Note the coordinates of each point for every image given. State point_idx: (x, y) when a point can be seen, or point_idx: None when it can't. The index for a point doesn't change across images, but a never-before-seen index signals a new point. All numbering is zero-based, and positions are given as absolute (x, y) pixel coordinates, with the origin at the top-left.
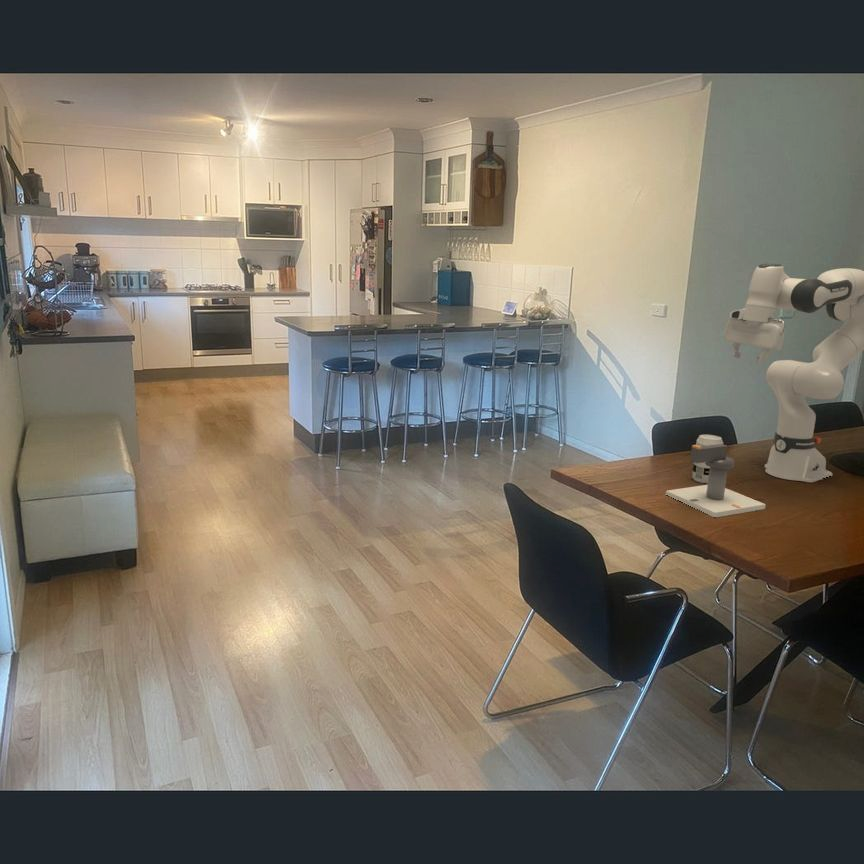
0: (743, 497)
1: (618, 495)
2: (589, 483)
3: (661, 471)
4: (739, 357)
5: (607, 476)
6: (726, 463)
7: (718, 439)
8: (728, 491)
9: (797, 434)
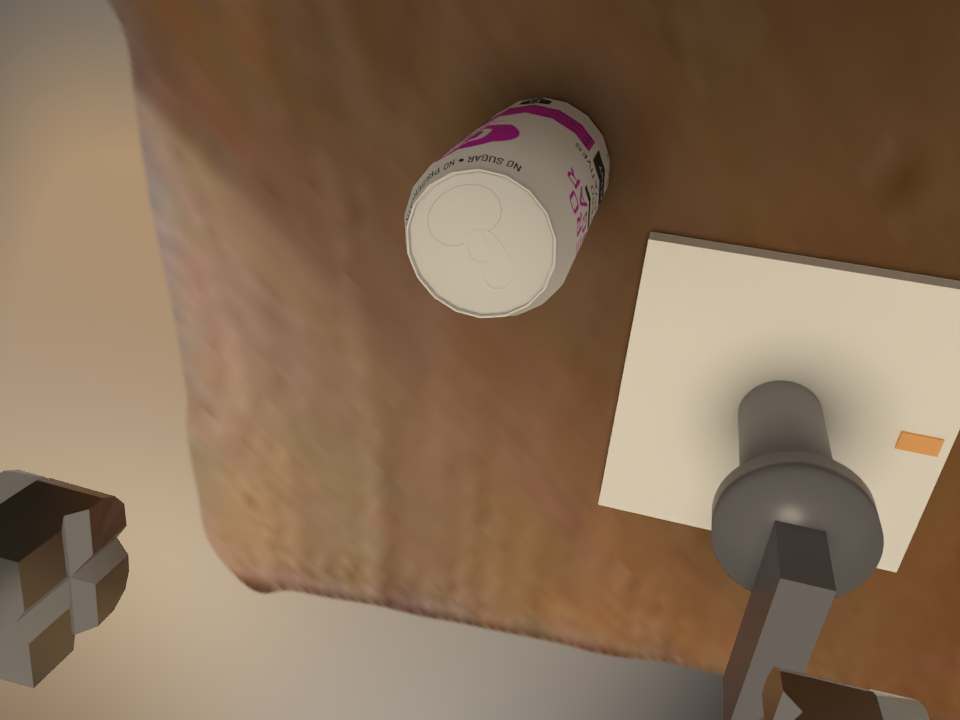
0: (875, 302)
1: (515, 614)
2: (370, 591)
3: (346, 240)
4: (110, 516)
5: (326, 486)
6: (866, 576)
7: (539, 235)
8: (769, 286)
9: None
